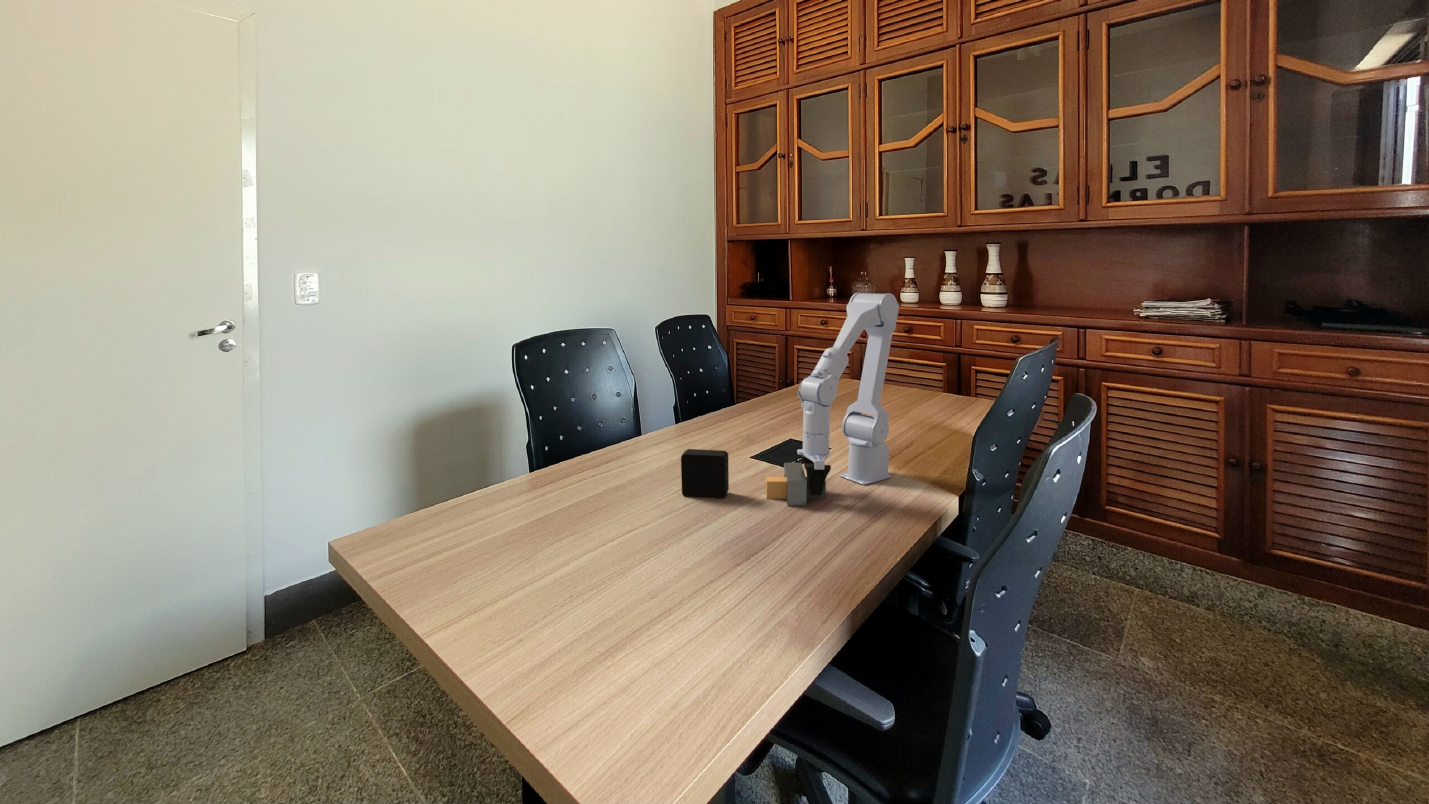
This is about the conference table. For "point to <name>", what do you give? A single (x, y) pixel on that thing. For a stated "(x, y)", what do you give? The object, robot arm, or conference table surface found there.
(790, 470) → the grey rectangular block
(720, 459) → the electronic device
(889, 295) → the robot arm
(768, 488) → the orange and grey bar
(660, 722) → the conference table surface
